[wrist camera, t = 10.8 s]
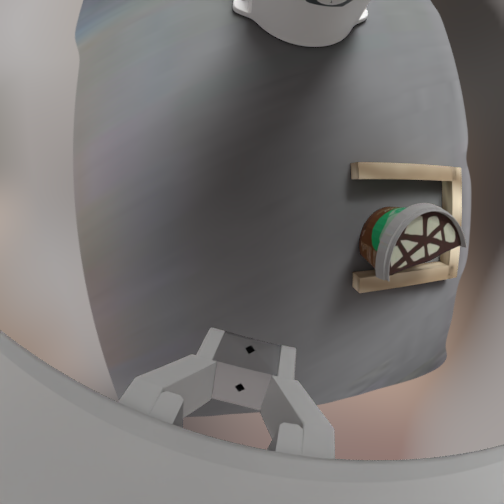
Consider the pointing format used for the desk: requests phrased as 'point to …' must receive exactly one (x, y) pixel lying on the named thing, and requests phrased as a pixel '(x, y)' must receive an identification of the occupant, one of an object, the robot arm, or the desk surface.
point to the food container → (408, 237)
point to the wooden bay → (450, 203)
